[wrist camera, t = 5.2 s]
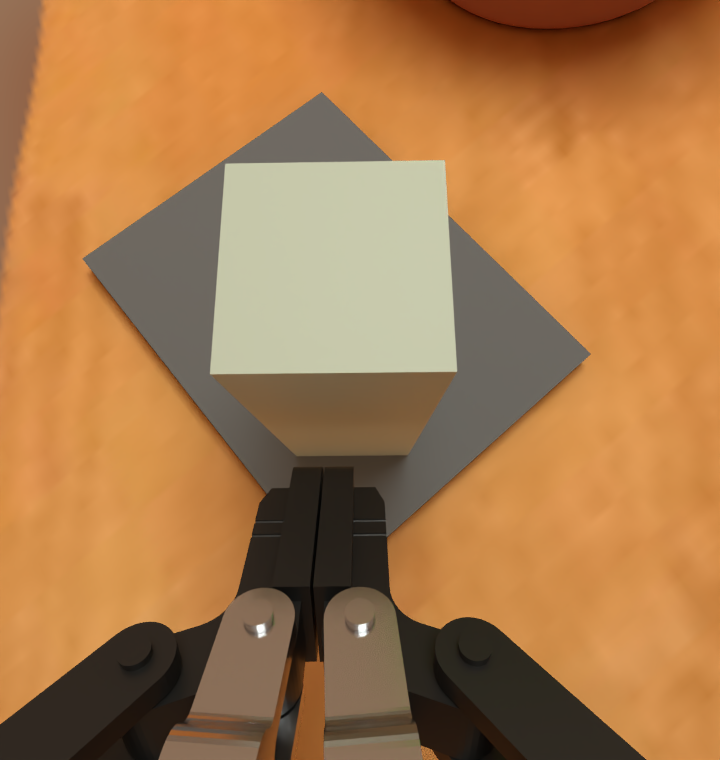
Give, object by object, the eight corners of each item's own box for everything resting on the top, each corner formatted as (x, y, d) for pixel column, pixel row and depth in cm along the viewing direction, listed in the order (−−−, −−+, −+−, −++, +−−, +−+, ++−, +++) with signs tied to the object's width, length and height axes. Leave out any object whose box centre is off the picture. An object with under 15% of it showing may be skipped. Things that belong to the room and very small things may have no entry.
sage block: (408, 455, 21) (457, 371, 9) (296, 456, 21) (210, 374, 10) (404, 349, 22) (445, 160, 11) (299, 350, 22) (225, 163, 11)
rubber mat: (581, 361, 23) (590, 354, 22) (337, 579, 21) (336, 582, 20) (323, 107, 27) (321, 92, 26) (93, 268, 25) (82, 258, 24)
